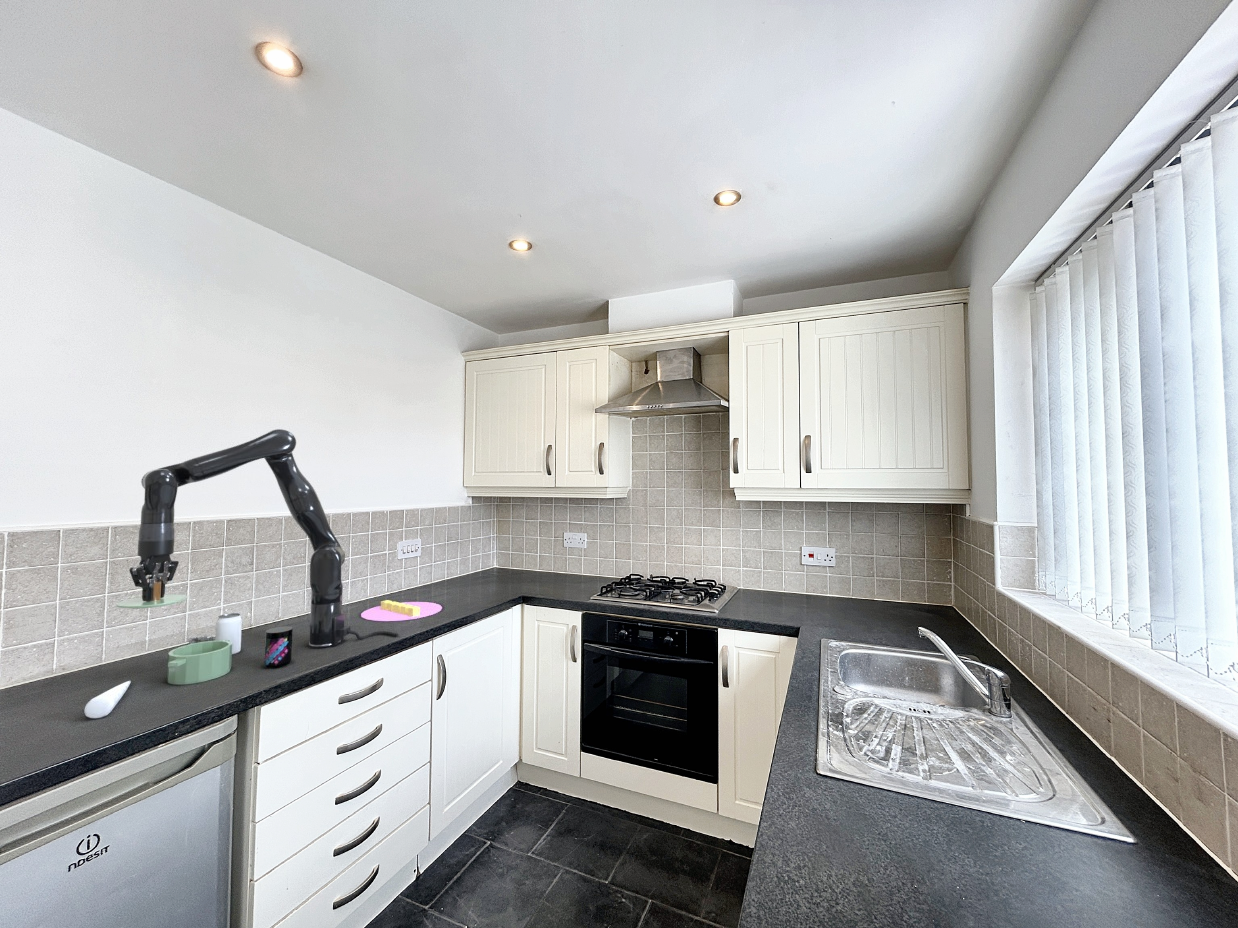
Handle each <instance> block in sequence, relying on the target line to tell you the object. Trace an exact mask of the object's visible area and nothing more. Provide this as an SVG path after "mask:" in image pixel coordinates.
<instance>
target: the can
mask: <svg viewBox="0 0 1238 928" xmlns="http://www.w3.org/2000/svg"><path fill="white" fill-rule="evenodd" d="M242 623H243V619H242V616H241V613H240V612H230V613H226V614H221V615H218V617H217V620H216V622H215V634H214V638H215V641H221V640H230V642H231V643H232V656H233V655H236V654H238V653H240V652H241V649H242V648H241V647H242V627H243V624H242Z"/></svg>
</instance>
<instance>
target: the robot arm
mask: <svg viewBox="0 0 1238 928" xmlns="http://www.w3.org/2000/svg"><path fill="white" fill-rule="evenodd" d="M296 446H297V438H296V437H295V435H294V434H293V433H292V432H290V431H289V430H286V429H282V428H281V429H280V428H277V429H273V430H270V431H268V432H266V433H265V434H262V435H260V436H258V437H255V438H254V439H250V440H249V441H246V442H243V443H240V444H237V445H235V446H234V445H233V446H231V447H227V448H224V449H221V450H217V451H214V452H210V453H207V454H204V455H200V456H196V457H193V458H190V459H187V460H185V461H183V462H179V463H174V464H171V465H166V466H162V467H159V468H156V469H152V470H150V471H147V472H146V473H145V474H144V475H143V476H142V477H141V481H140V483H141V486H142V488H143V489H144V500H143V501H144V502H143V505H142V506H141V510H140V524H139V529H138V540H137V556H138V557H140V561H139V563H138V565H137V566H135V567H130V568H129V574H130V577H131V579H132V582H133V584H134V586H135V587H136V588H137V587H138V588H141V597H142V599H143V601H152V600H153V590H154V587H153V586H154V582H155V581H161V598H163V597H164V595H166V585H167V584H168V583H169V582H172V581H173V579H174V577H175V574H176V572H177V569H178V566H179V563H180V562H179V561H178V560H172V559H171V555H173V554H174V551H175V535H176V533H175V532H176V531H175V530H176V529H175V528H176V527H175V505H176V501H177V500H176V499H177V494H178V489H179V487H182V486H185V485H189V484H192V483H199V482H202V481H205V480H208V479H211V478H212V479H213V478H214V477H218V476H221V475H223V474H226V473H228V472H230V471H232V470H236V469H237V468H239V467H242V466H243V465H246V464H249V463H251V462H255V461H258V460H261V459H264V460H265V463H267V465H268V467H269V468H270V470H271V471H272V473H273V475H274V478H275V479H276V482H277V486H278V488H279V490H280V493H281V496H282V498H283V501H284V502H285V504H286V506H287V508H288V511H289V513H290V515H291V516H292V518H293V520H294V522H295V523H296V524H297V525H298V526H299V528H300V529H301V530H302V531H303V533H305V535H306V536H307V538H308V540H309V542H310V544H311V547H312V550H313V553H312V555H311V557H310V561H309V586H310V616H309V618H310V619H309V640H308V641H309V643H308V647H309V648H313V649H321V648H322V649H323V648H329V647H336V646H338V645H339V644H340V643H342V642H344V640H345V637H346V636H348V635H350V634H351V635H354V636H355V637H356V639H358V640H364V639H367V638H370V637H373V636H376V635H386V636H387V635H388V636H392V637H399V633H398V632H397V633H396V632H391V631H385V630H382V631H381V630H378V631H373V632H370V633H368V634H366V635H363V636H361V635H360V634H359V632H357V631H355V630H351V625H345V612H343V593H344V592H343V590H344V589H343V588H344V585H343V581H342V566H343V565H344V563H345V560H346V552H345V551H344V549H343V547H342V545H341V543H340V542H339V540H338V539H337V537H336V536H335V534H334V532H333V530H332V529H331V528H332V527H331V526H330V523H329V521H328V518H327V515H326V512H325V510H324V508H323V505H322V503H321V500H320V498H319V496H318V494H317V492H316V489H315V487H314V486H313V485H312V484H311V482H310V481H309V480H308V479H307V478H306V477H305V476H304V474H303V473H302V472H301V471H300V469H299V467H298V464H297V462H296V459H295V457H294V454H293V452H294V451H295V449H296ZM148 582H149V583H148Z"/></svg>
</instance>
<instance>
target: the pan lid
mask: <svg viewBox="0 0 1238 928" xmlns="http://www.w3.org/2000/svg"><path fill="white" fill-rule="evenodd" d="M147 582H148V583H149V581H147ZM153 587H154V590H153V600H152V601H143V599H142V596H141V597H135V598H129V599H125V600H122V601H119V602H117V603H116V607H117V608H120V609H136V610H137V609H153V608H159V607H165V606H169V605H170V606H171V605H173V604H177V603H180V602H184V601H186V600H188V595H186V594H179V593H177V594H176V593H174V594H173V593H172V594H171V593H169V594H164V597H163V598H161V581H154V586H153Z"/></svg>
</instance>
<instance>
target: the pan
mask: <svg viewBox="0 0 1238 928" xmlns="http://www.w3.org/2000/svg"><path fill="white" fill-rule="evenodd" d="M232 656H233V655H232V643H231V642H230V640H221V641H206V642H199V643H194V644H189V643H188V644H185V645H182V646H179V647H176V648H174V649H171V650H170V651H169V652H167V669H166V680H167V683H168V684H170V685H175V686H176V685H180V686H181V685H192V684H193V685H194V684H197V683H198V684H199V683H203V682H207V681H210V680H214V679H218V678H220V677H223V676H225V675H227V674H228V673H229V672H230V671H231V670H232V669H231V668H232V661H233V660H232V659H233V657H232Z"/></svg>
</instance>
